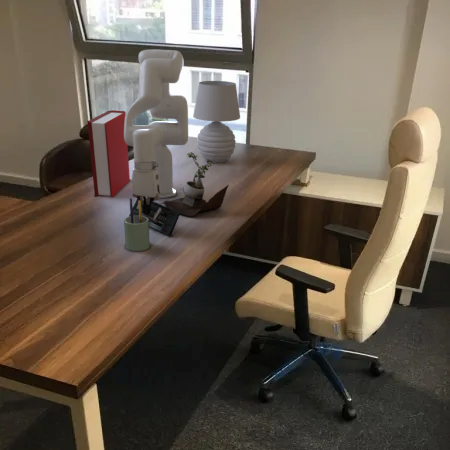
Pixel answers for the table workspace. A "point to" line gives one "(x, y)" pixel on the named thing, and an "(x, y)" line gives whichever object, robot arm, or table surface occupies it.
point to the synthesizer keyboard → (159, 217)
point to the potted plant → (196, 195)
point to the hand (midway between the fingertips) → (147, 213)
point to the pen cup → (136, 230)
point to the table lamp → (216, 119)
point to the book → (108, 152)
